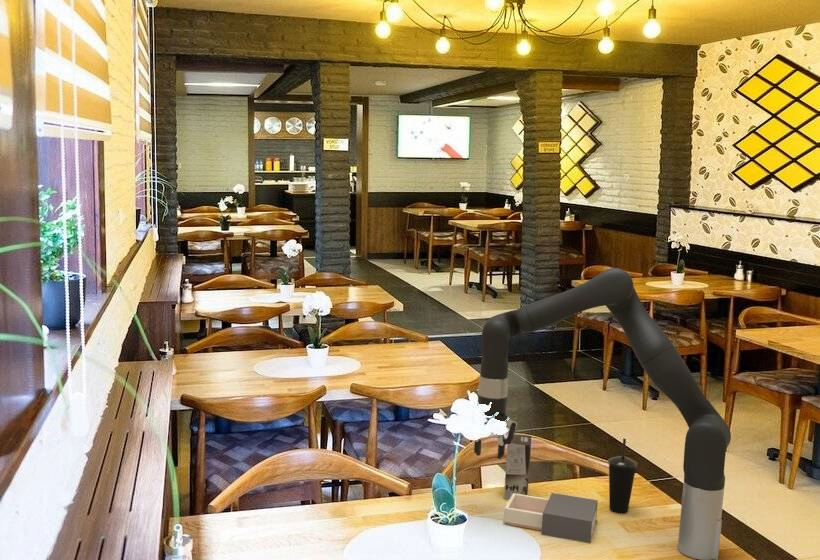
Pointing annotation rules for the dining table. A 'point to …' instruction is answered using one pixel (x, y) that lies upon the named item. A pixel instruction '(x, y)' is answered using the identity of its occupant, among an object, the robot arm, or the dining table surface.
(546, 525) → the sleeve
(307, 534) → the dining table surface
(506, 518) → the sliding drawer box
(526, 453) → the coffee box
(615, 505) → the drinking cup
